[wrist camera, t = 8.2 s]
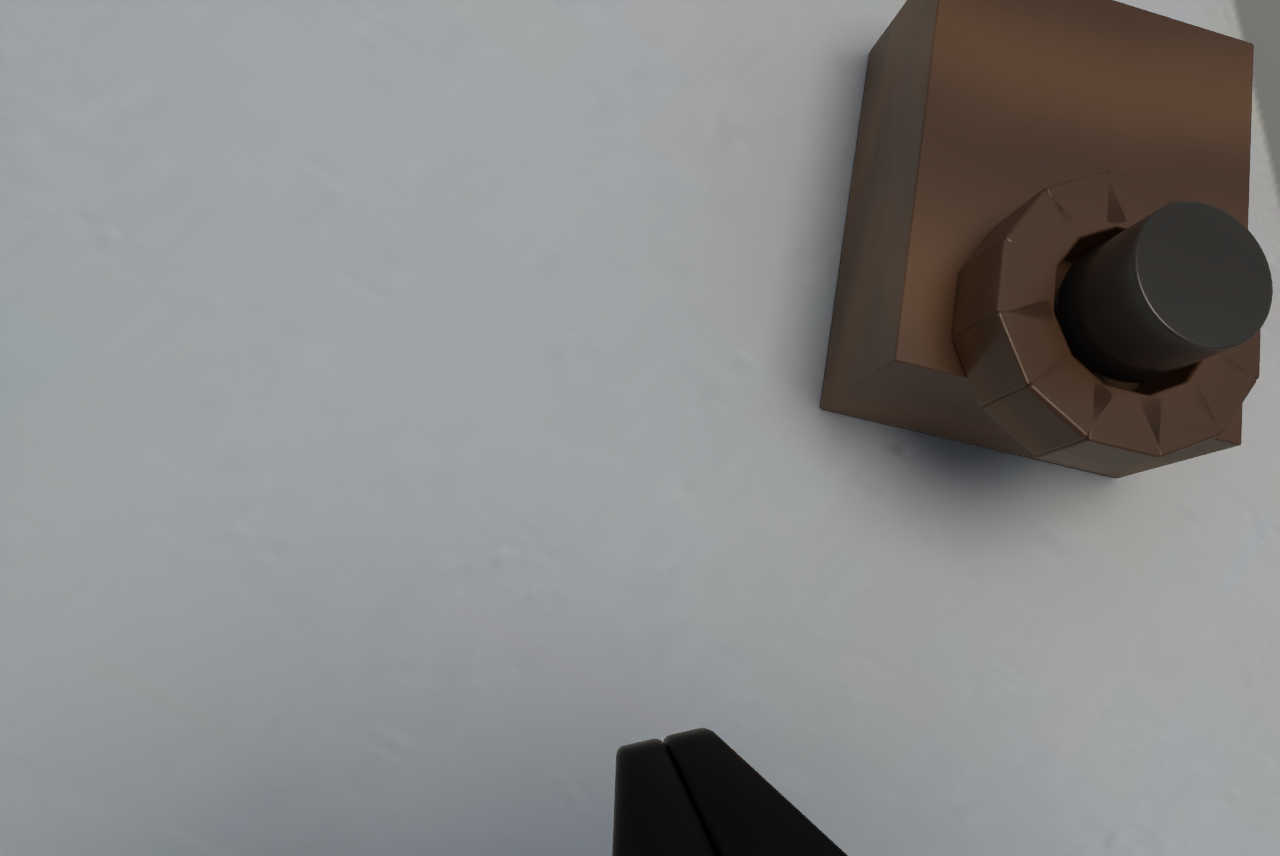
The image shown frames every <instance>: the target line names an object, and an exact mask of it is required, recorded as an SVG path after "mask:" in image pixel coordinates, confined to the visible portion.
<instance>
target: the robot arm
mask: <svg viewBox="0 0 1280 856" xmlns="http://www.w3.org/2000/svg"><path fill="white" fill-rule="evenodd" d="M612 856H848V855H846V854H845V853H844V852H843V851H842V850H841V849H840V848H839V847H838V846H837V845H836V844H835V843H833V842H832V841H831V840H830V839H829V838H828V837H827V836H826V835H825V834H824V833H823V832H822V831H820V830H819V829H818V828H817V827H816V826H815V825H814V824H813V823H812V822H811V821H810V820H809V819H807V818H806V817H805V816H804V815H803V814H802V813H801V812H800V811H799V810H798V809H797V808H795V807H794V806H793V805H792V804H791V803H790V802H789V801H788V800H787V799H786V798H785V797H784V796H782V795H781V794H780V793H779V792H778V791H777V790H776V789H775V788H774V787H773V786H772V785H771V784H769V783H768V782H767V781H766V780H765V779H764V778H763V777H762V776H761V775H760V774H759V773H758V772H756V771H755V770H754V769H753V768H752V767H751V766H750V765H749V764H748V763H747V762H746V761H745V760H743V759H742V758H741V757H740V756H739V755H738V754H737V753H736V752H735V751H734V750H733V749H731V748H730V747H729V746H728V745H727V744H726V743H725V742H724V741H723V740H722V739H721V738H720V737H718V736H717V735H716V734H715V733H714V732H713V731H711V730H709V729H706V728H699V729H694V730H690V731H686V732H681V733H677V734H673V735H669V736H667V737H666V738H665V739H664V742H662V741H661V740H658V739H651V740H646V741H642V742H638V743H633V744H629V745H625V746H622V747H620V748H619V749H618V751H617V755H616V777H615V803H614V828H613V853H612Z"/></svg>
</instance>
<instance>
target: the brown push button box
mask: <svg viewBox="0 0 1280 856" xmlns="http://www.w3.org/2000/svg"><path fill="white" fill-rule="evenodd" d="M1253 46H1254V45H1253V44H1251V43H1248V42H1245V41H1242V40H1239V39H1236V38H1232V37H1229V36H1226V35H1223V34H1219V33H1216V32H1213V31H1210V30H1207V29H1203V28H1200V27H1197V26H1194V25H1191V24H1187V23H1184V22H1181V21H1178V20H1174V19H1171V18H1168V17H1165V16H1162V15H1158V14H1155V13H1152V12H1149V11H1146V10H1142V9H1139V8H1136V7H1133V6H1129V5H1126V4H1123V3H1120V2H1117V1H1113V0H907V1H906V3H905V4H904V5H903V7H902V8H901V10H900V11H899V12H898V14H897V15H896V16H895V18H894V19H893V21H892V22H891V23H890V25H889V26H888V27H887V29H886V30H885V32H884V33H883V34H882V36H881V37H880V38H879V40H878V41H877V43H876V44H875V45H874V47H873V48H872V49H871V51H870V54H869V61H868V69H867V76H866V83H865V90H864V97H863V104H862V112H861V119H860V126H859V133H858V140H857V148H856V155H855V162H854V169H853V176H852V183H851V191H850V198H849V205H848V212H847V219H846V227H845V234H844V241H843V248H842V255H841V263H840V270H839V277H838V284H837V291H836V298H835V306H834V313H833V320H832V327H831V334H830V342H829V349H828V356H827V363H826V370H825V377H824V385H823V392H822V399H821V406H820V407H821V409H824V410H829V411H833V412H837V413H841V414H846V415H850V416H854V417H858V418H863V419H867V420H871V421H875V422H880V423H884V424H888V425H892V426H897V427H901V428H905V429H910V430H914V431H918V432H922V433H927V434H931V435H935V436H939V437H944V438H948V439H952V440H956V441H961V442H965V443H969V444H973V445H978V446H982V447H986V448H990V449H995V450H999V451H1003V452H1008V453H1012V454H1016V455H1020V456H1025V457H1029V458H1033V459H1037V460H1042V461H1046V462H1050V463H1054V464H1059V465H1063V466H1067V467H1071V468H1076V469H1080V470H1084V471H1089V472H1093V473H1097V474H1101V475H1106V476H1110V477H1114V478H1119V477H1123V476H1127V475H1131V474H1134V473H1138V472H1142V471H1145V470H1149V469H1153V468H1157V467H1160V466H1164V465H1168V464H1171V463H1175V462H1179V461H1183V460H1186V459H1190V458H1194V457H1197V456H1201V455H1205V454H1209V453H1212V452H1216V451H1220V450H1223V449H1227V448H1231V447H1234V446H1238V445H1240V444H1241V428H1242V402H1243V401H1244V399H1245V398H1246V396H1247V395H1248V393H1249V392H1250V390H1251V389H1252V387H1253V386H1254V384H1255V383H1256V379H1258V378H1259V362H1260V329H1259V331H1258V332H1257V333H1256V334H1255V335H1254V336H1253V337H1252V338H1251V339H1249V340H1248V341H1246V342H1245V343H1243V344H1241V345H1239V346H1237V347H1234V348H1232V349H1229V350H1227V351H1224V352H1222V353H1219V354H1216V355H1214V356H1211V357H1209V358H1206V359H1204V360H1201V361H1199V362H1196V363H1193V364H1191V365H1188V366H1186V367H1183V368H1181V369H1178V370H1176V371H1173V372H1171V373H1168V374H1165V375H1163V376H1160V377H1158V378H1155V379H1153V380H1150V381H1146V382H1140V383H1125V382H1120V381H1116V380H1113V379H1109V378H1107V377H1105V376H1103V375H1101V374H1099V373H1097V372H1096V371H1094V370H1093V369H1091V368H1090V367H1089V366H1088V365H1086V364H1085V363H1084V362H1083V361H1082V360H1081V359H1080V358H1079V357H1078V355H1077V354H1076V353H1075V352H1074V350H1073V349H1072V347H1071V346H1070V344H1069V343H1068V341H1067V339H1066V337H1065V335H1064V332H1063V329H1062V327H1061V323H1060V319H1059V312H1058V297H1059V290H1060V287H1061V283H1062V281H1063V279H1064V277H1065V274H1066V273H1067V271H1068V270H1069V268H1070V267H1071V266H1072V265H1073V264H1074V262H1076V261H1077V260H1078V259H1079V258H1080V257H1082V256H1084V255H1085V254H1087V253H1088V252H1090V251H1092V250H1093V249H1095V248H1096V247H1098V246H1100V245H1101V244H1103V243H1104V242H1106V241H1108V240H1109V239H1111V238H1113V237H1114V236H1116V235H1117V234H1119V233H1121V232H1122V231H1124V230H1125V229H1127V228H1129V227H1130V226H1132V225H1133V224H1135V223H1137V222H1138V221H1140V220H1142V219H1143V218H1145V217H1146V216H1148V215H1150V214H1151V213H1153V212H1154V211H1156V210H1158V209H1159V208H1161V207H1163V206H1166V205H1168V204H1171V203H1176V202H1183V201H1195V202H1202V203H1206V204H1210V205H1212V206H1215V207H1218V208H1220V209H1222V210H1224V211H1226V212H1227V213H1229V214H1230V215H1232V216H1233V217H1235V218H1236V219H1237V220H1238V221H1240V222H1241V223H1242V224H1243V225H1244V226H1245V227H1246V228H1247V229H1248V207H1249V175H1250V143H1251V112H1252V80H1253Z"/></svg>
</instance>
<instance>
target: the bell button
mask: <svg viewBox="0 0 1280 856" xmlns="http://www.w3.org/2000/svg"><path fill="white" fill-rule="evenodd" d="M1271 302H1272V279H1271V273H1270V269H1269V265H1268V262H1267V260H1266V257H1265V255H1264V253H1263V251H1262V249H1261V247H1260V245H1259V244H1258V242H1257V241H1256V239H1255V238H1254V236H1253V235H1252V234H1251V233H1250V232H1249V230H1248V229H1247V228H1246V227H1245V226H1244V225H1243V224H1242V223H1241V222H1240V221H1238V220H1237V219H1236V218H1235V217H1233V216H1232V215H1230V214H1229V213H1227V212H1226V211H1224V210H1222V209H1220V208H1218V207H1215V206H1212V205H1210V204H1206V203H1202V202H1195V201H1183V202H1176V203H1171V204H1168V205H1166V206H1163V207H1161V208H1159V209H1158V210H1156V211H1154V212H1153V213H1151V214H1150V215H1148V216H1146V217H1145V218H1143V219H1142V220H1140V221H1138V222H1137V223H1135V224H1133V225H1132V226H1130V227H1129V228H1127V229H1125V230H1124V231H1122V232H1121V233H1119V234H1117V235H1116V236H1114V237H1113V238H1111V239H1109V240H1108V241H1106V242H1104V243H1103V244H1101V245H1100V246H1098V247H1096V248H1095V249H1093V250H1092V251H1090V252H1088V253H1087V254H1085V255H1084V256H1082V257H1080V258H1079V259H1078V260H1077V261H1076V262H1074V264H1073V265H1072V266H1071V267H1070V268H1069V270H1068V271H1067V273H1066V274H1065V277H1064V279H1063V281H1062V283H1061V287H1060V290H1059V297H1058V312H1059V319H1060V323H1061V327H1062V329H1063V332H1064V335H1065V337H1066V339H1067V341H1068V343H1069V344H1070V346H1071V347H1072V349H1073V350H1074V352H1075V353H1076V354H1077V355H1078V357H1079V358H1080V359H1081V360H1082V361H1083V362H1084V363H1085V364H1086V365H1088V366H1089V367H1090V368H1091V369H1093V370H1094V371H1096V372H1097V373H1099V374H1101V375H1103V376H1105V377H1107V378H1109V379H1113V380H1116V381H1120V382H1125V383H1140V382H1146V381H1150V380H1153V379H1155V378H1158V377H1160V376H1163V375H1165V374H1168V373H1171V372H1173V371H1176V370H1178V369H1181V368H1183V367H1186V366H1188V365H1191V364H1193V363H1196V362H1199V361H1201V360H1204V359H1206V358H1209V357H1211V356H1214V355H1216V354H1219V353H1222V352H1224V351H1227V350H1229V349H1232V348H1234V347H1237V346H1239V345H1241V344H1243V343H1245V342H1246V341H1248V340H1249V339H1251V338H1252V337H1253V336H1254V335H1255V334H1256V333H1257V332H1258V331H1259V329H1260V328H1261V327H1262V325H1263V324H1264V322H1265V320H1266V318H1267V316H1268V313H1269V311H1270V306H1271Z"/></svg>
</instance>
